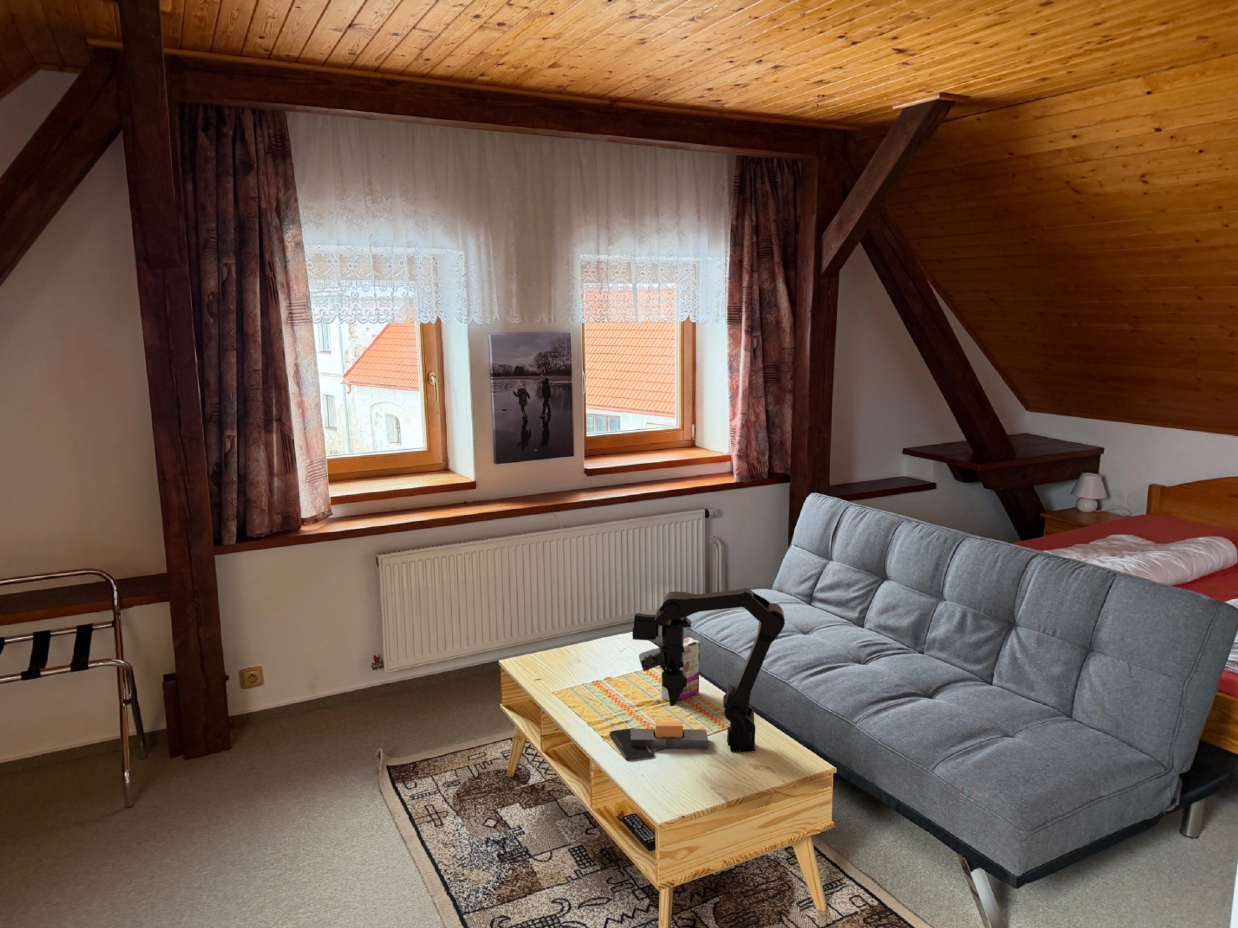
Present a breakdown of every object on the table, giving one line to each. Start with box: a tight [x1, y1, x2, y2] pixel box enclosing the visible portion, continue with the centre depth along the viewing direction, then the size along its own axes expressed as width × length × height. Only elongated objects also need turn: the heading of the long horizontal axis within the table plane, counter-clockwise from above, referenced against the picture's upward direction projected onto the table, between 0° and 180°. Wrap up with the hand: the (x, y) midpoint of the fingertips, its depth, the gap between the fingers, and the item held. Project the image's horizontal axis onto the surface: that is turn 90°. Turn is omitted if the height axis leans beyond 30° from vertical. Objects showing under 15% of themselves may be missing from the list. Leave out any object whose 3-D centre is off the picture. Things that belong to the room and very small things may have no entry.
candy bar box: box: [661, 636, 701, 703], centre depth 262 cm, size 11×5×16 cm, turn 129°
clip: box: [654, 721, 684, 738], centre depth 234 cm, size 7×2×6 cm, turn 91°
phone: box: [609, 727, 655, 761], centre depth 233 cm, size 8×1×15 cm
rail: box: [630, 728, 709, 750], centre depth 234 cm, size 20×6×2 cm, turn 90°
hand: (670, 697), depth 234 cm, fingers open, 9 cm apart
